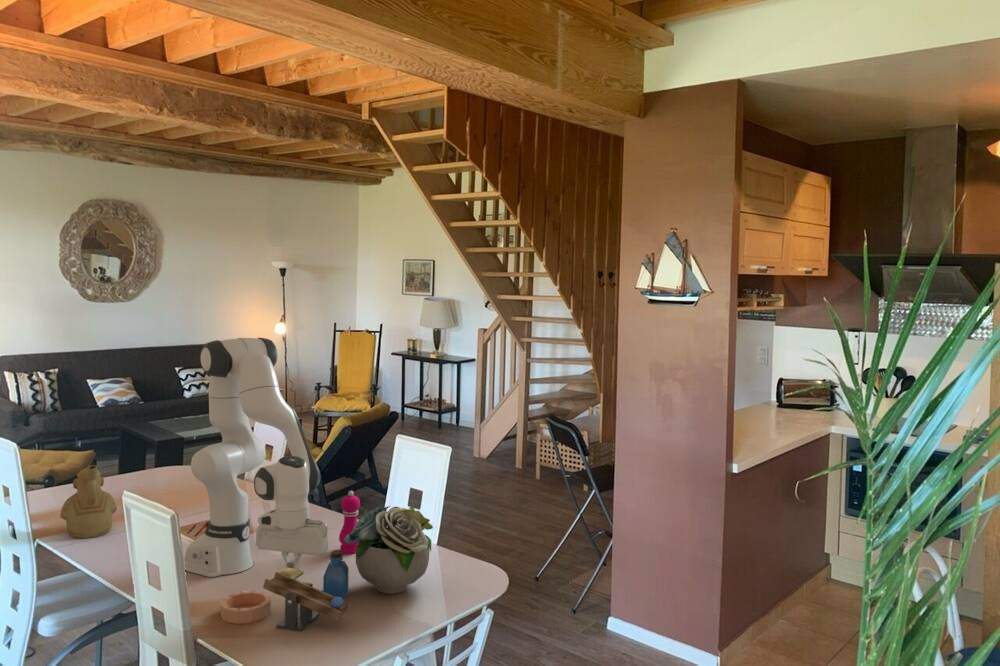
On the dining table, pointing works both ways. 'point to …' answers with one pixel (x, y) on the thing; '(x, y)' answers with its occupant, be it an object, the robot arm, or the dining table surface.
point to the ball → (337, 602)
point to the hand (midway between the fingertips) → (292, 567)
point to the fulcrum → (296, 614)
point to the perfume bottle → (336, 576)
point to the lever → (304, 593)
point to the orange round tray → (245, 607)
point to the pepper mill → (349, 522)
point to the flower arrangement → (391, 547)
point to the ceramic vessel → (88, 506)
